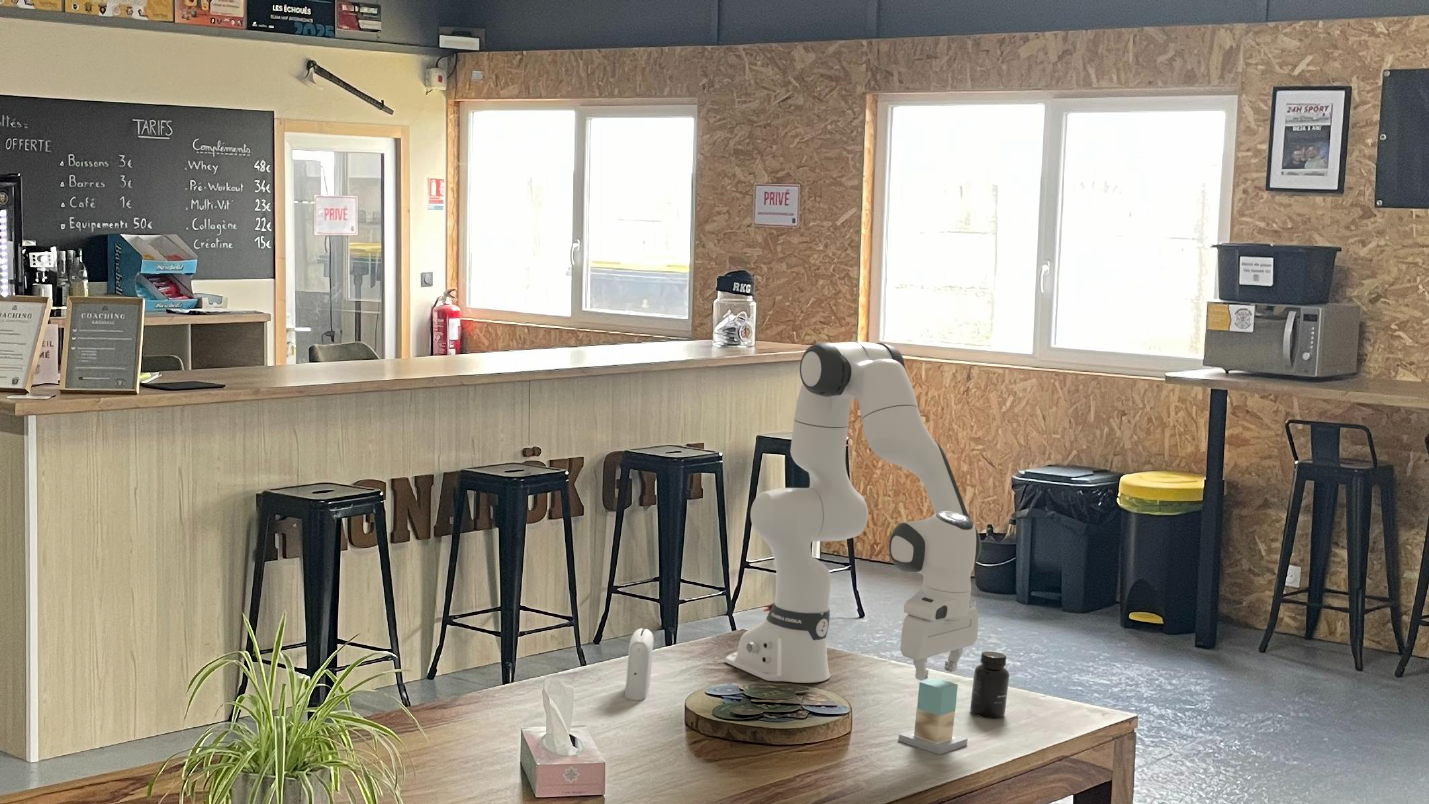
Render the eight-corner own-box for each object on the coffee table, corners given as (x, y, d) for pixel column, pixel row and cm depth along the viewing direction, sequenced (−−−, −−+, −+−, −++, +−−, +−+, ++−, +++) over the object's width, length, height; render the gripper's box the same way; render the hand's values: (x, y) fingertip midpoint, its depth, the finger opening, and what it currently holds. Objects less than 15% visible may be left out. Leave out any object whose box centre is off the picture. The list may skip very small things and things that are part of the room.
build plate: (898, 740, 289) (898, 734, 289) (926, 731, 296) (926, 725, 296) (939, 754, 284) (940, 747, 283) (966, 745, 290) (967, 738, 290)
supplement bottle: (1004, 721, 307) (1010, 661, 306) (969, 716, 308) (975, 656, 307) (1005, 711, 314) (1011, 652, 313) (970, 706, 315) (976, 647, 314)
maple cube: (914, 734, 290) (916, 708, 289) (929, 730, 293) (932, 703, 293) (936, 742, 286) (939, 715, 286) (952, 737, 290) (954, 711, 289)
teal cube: (916, 708, 289) (919, 682, 288) (932, 704, 293) (935, 677, 292) (939, 715, 286) (942, 688, 285) (955, 711, 289) (957, 684, 289)
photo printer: (645, 701, 300) (651, 638, 299) (623, 699, 300) (628, 636, 299) (651, 686, 310) (656, 625, 309) (629, 684, 310) (634, 622, 309)
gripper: (961, 590, 298) (953, 661, 300) (898, 604, 283) (889, 679, 285) (990, 598, 294) (981, 670, 296) (927, 613, 279) (918, 689, 281)
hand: (935, 674), depth 290 cm, fingers open, 8 cm apart
